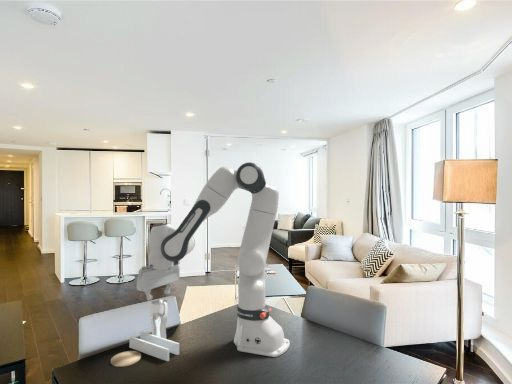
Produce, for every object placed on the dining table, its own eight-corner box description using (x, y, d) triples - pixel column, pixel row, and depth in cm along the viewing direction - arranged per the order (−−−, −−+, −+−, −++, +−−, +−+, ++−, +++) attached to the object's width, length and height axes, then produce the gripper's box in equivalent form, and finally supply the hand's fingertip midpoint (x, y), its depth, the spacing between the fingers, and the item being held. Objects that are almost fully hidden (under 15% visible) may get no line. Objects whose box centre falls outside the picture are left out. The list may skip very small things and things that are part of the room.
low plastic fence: (179, 354, 110) (179, 343, 110) (167, 361, 105) (167, 349, 105) (141, 341, 120) (142, 331, 120) (129, 347, 115) (129, 337, 115)
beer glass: (162, 343, 118) (162, 305, 119) (146, 341, 120) (147, 303, 120) (170, 335, 125) (171, 299, 126) (155, 334, 127) (156, 298, 127)
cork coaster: (147, 356, 109) (147, 355, 109) (123, 369, 100) (123, 368, 100) (128, 349, 113) (128, 348, 113) (104, 361, 105) (104, 360, 105)
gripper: (144, 268, 113) (143, 305, 112) (182, 259, 131) (181, 291, 130) (133, 266, 116) (132, 302, 115) (172, 258, 134) (170, 289, 133)
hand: (158, 296), depth 123 cm, fingers open, 8 cm apart
